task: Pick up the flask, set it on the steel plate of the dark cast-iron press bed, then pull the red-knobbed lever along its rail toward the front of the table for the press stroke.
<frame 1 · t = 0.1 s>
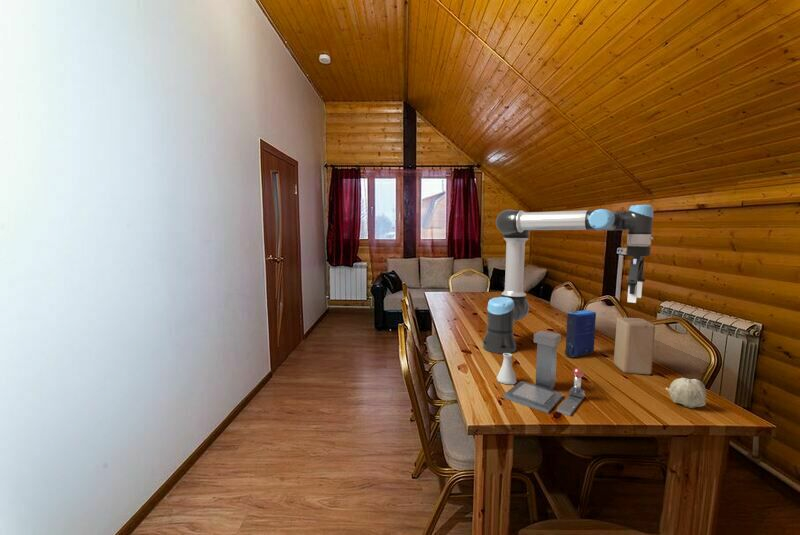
hand: (634, 299, 132), 28 cm above the table, fingers open, 13 cm apart
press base: (533, 397, 110), on the table
flask: (506, 381, 123), on the table
wooden block: (631, 369, 134), on the table
garlic bulb: (684, 405, 106), on the table
book: (578, 355, 149), on the table
lever: (577, 380, 110), point 6 cm above the table, slide at 0.0 cm
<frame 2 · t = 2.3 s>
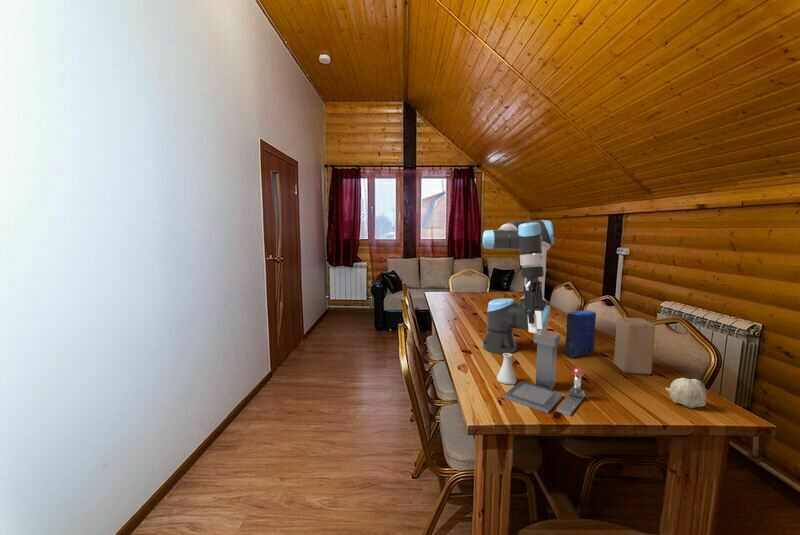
hand: (535, 330, 120), 19 cm above the table, fingers open, 6 cm apart
nothing on the table moved.
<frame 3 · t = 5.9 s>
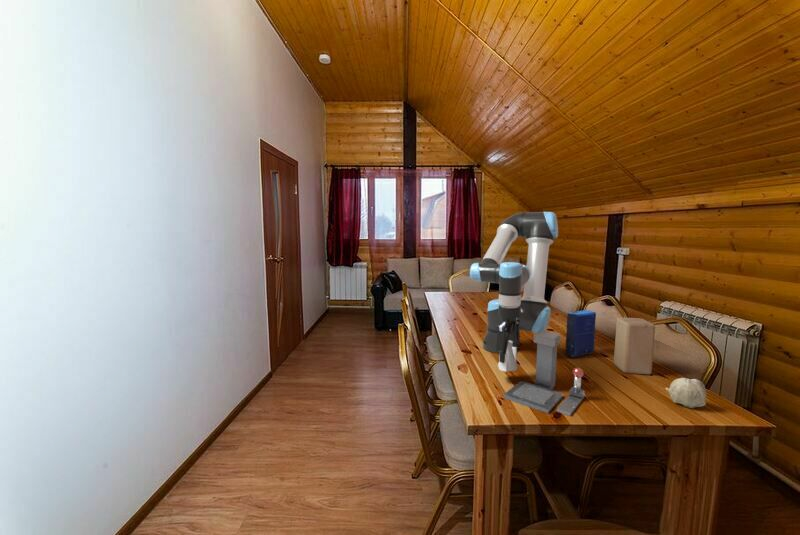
hand: (507, 366, 123), 5 cm above the table, fingers closed on flask, 7 cm apart
flask: (507, 368, 123), point 4 cm above the table, touching gripper
everything else where it was.
when the fingers open (3 cm above the table, at t = 12.0 s): flask stays where it is, resting on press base.
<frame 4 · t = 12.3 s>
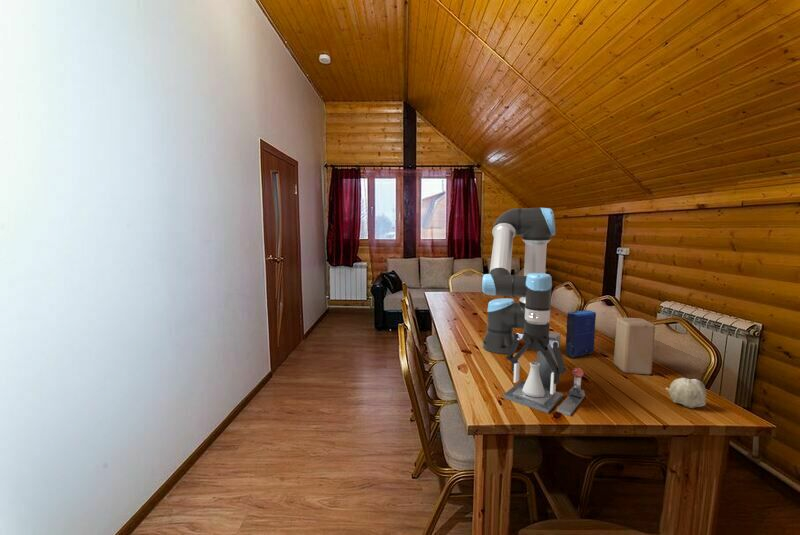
hand: (533, 386, 110), 4 cm above the table, fingers open, 11 cm apart
flask: (533, 393, 110), point 1 cm above the table, touching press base
everything else where it was.
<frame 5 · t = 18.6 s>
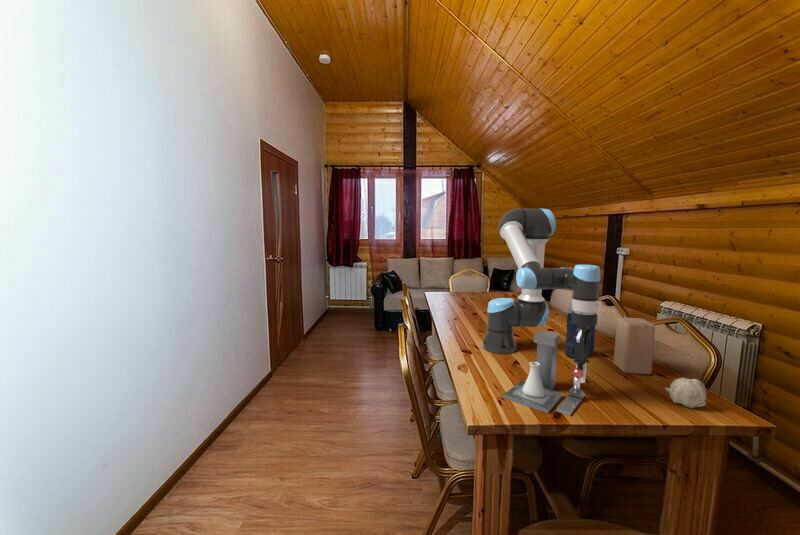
hand: (580, 381, 112), 5 cm above the table, fingers closed
lever: (577, 381, 109), point 6 cm above the table, slide at 0.4 cm, touching gripper
everything else where it was.
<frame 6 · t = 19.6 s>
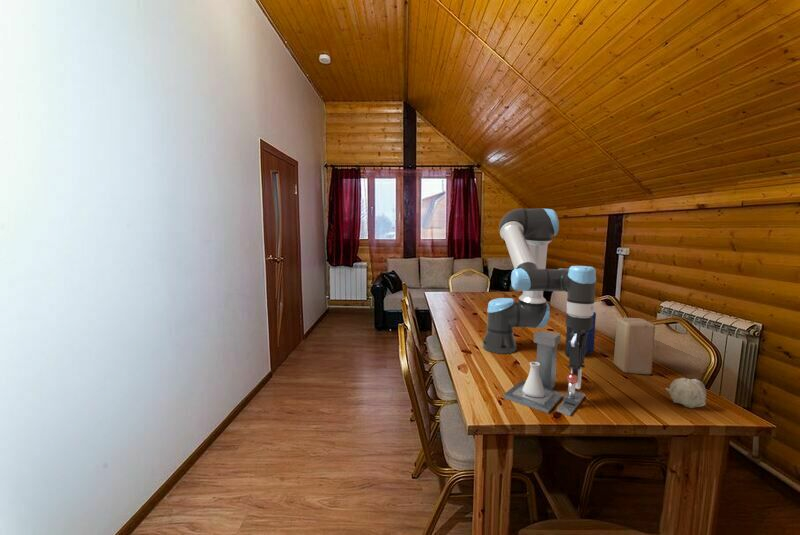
hand: (575, 387, 108), 5 cm above the table, fingers closed
lever: (571, 387, 105), point 6 cm above the table, slide at 6.2 cm, touching gripper
everything else where it was.
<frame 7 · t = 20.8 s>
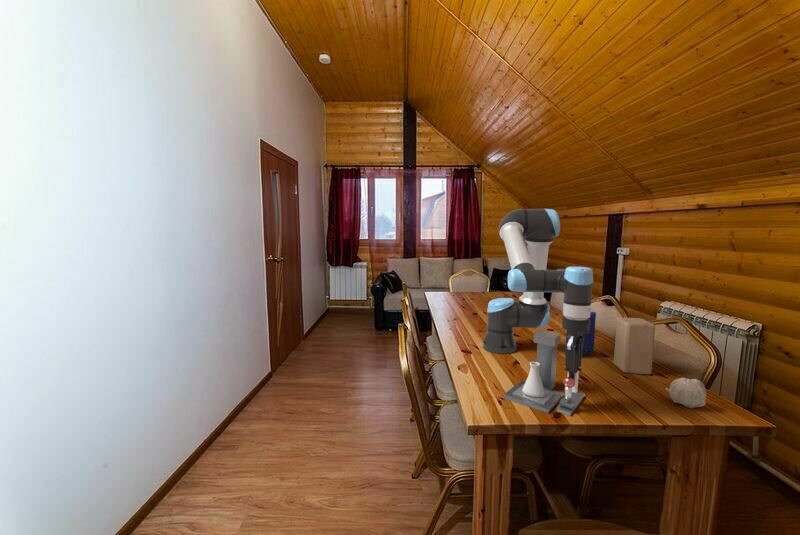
hand: (572, 390, 105), 4 cm above the table, fingers closed
lever: (568, 391, 103), point 6 cm above the table, slide at 9.7 cm, touching gripper
everything else where it was.
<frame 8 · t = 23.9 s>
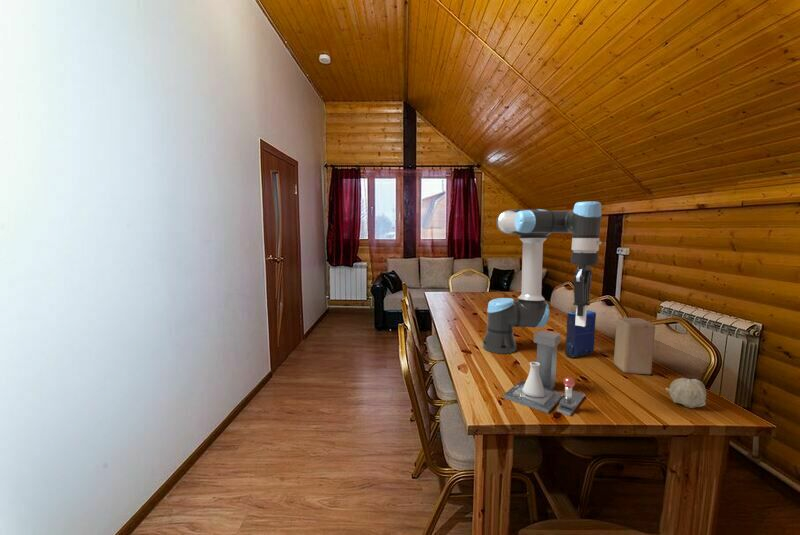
hand: (580, 325, 107), 24 cm above the table, fingers closed
lever: (568, 391, 103), point 6 cm above the table, slide at 9.8 cm
everything else where it was.
at the end: flask 0.1 cm from the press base (horizontally); flask tilted 0°; lever slide at 9.8 cm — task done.
